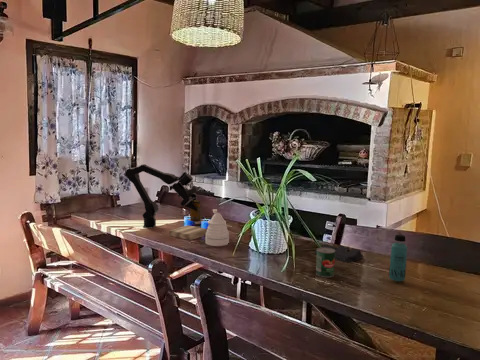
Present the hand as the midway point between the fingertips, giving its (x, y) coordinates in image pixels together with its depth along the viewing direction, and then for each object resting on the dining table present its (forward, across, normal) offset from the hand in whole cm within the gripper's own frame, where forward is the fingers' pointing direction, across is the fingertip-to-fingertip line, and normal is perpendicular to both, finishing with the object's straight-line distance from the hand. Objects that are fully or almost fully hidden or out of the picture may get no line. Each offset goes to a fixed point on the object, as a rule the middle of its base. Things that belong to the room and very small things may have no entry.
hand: (198, 209), depth 255 cm
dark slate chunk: (+66, -36, -49) cm, 90 cm away
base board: (+7, -14, +10) cm, 19 cm away
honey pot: (+21, -26, -4) cm, 34 cm away
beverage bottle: (+81, -68, -65) cm, 124 cm away
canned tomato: (+60, -65, -44) cm, 99 cm away
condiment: (+4, 0, +6) cm, 7 cm away
